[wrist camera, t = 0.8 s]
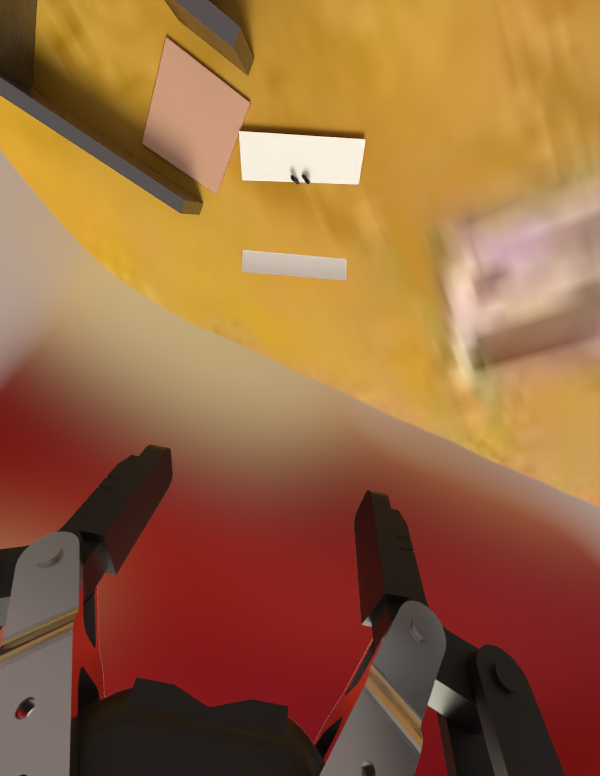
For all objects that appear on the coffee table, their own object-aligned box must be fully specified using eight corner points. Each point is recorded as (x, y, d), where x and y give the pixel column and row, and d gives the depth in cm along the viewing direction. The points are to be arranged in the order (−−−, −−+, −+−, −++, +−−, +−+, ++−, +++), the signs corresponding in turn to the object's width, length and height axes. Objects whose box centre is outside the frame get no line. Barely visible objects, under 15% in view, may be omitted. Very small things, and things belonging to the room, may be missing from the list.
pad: (167, 39, 24) (166, 37, 24) (250, 103, 26) (249, 102, 25) (143, 144, 28) (141, 143, 27) (217, 194, 29) (216, 194, 29)
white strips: (363, 143, 27) (366, 137, 25) (345, 278, 33) (346, 280, 31) (240, 135, 27) (234, 129, 26) (243, 269, 33) (239, 271, 32)
